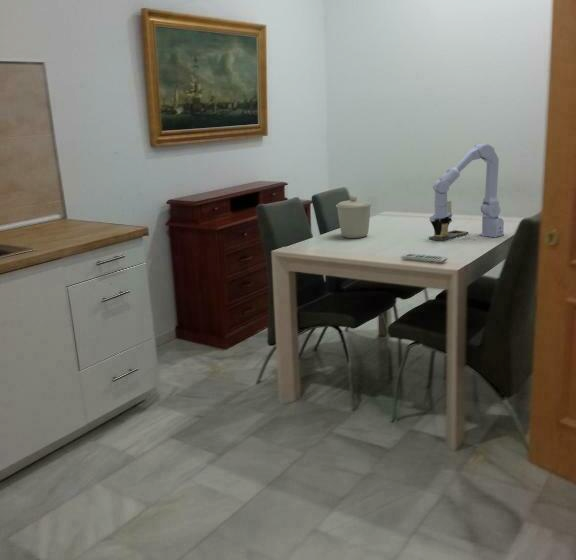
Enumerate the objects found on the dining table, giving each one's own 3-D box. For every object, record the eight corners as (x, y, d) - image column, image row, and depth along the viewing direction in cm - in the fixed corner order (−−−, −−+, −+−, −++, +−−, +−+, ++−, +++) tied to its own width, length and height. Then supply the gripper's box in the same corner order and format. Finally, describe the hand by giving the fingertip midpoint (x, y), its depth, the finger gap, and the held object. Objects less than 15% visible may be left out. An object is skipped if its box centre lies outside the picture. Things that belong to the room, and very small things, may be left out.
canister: (371, 239, 314) (370, 197, 308) (335, 240, 318) (333, 198, 312) (373, 232, 331) (372, 192, 325) (339, 233, 335) (337, 193, 329)
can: (447, 223, 343) (447, 201, 340) (431, 222, 349) (431, 200, 346) (454, 220, 350) (454, 198, 347) (438, 219, 356) (438, 198, 353)
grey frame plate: (468, 234, 312) (468, 231, 311) (442, 241, 300) (442, 238, 299) (454, 232, 318) (454, 230, 318) (428, 239, 306) (428, 236, 306)
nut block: (447, 238, 305) (447, 222, 303) (441, 240, 302) (441, 224, 300) (440, 237, 308) (440, 221, 306) (434, 239, 306) (434, 223, 304)
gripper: (443, 203, 308) (443, 230, 312) (424, 207, 300) (424, 235, 303) (455, 204, 303) (455, 232, 307) (436, 208, 295) (436, 237, 298)
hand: (441, 233), depth 305 cm, fingers closed on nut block, 4 cm apart
